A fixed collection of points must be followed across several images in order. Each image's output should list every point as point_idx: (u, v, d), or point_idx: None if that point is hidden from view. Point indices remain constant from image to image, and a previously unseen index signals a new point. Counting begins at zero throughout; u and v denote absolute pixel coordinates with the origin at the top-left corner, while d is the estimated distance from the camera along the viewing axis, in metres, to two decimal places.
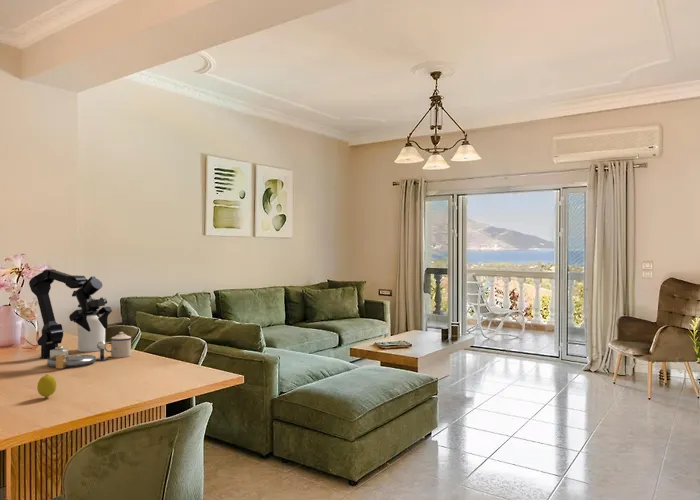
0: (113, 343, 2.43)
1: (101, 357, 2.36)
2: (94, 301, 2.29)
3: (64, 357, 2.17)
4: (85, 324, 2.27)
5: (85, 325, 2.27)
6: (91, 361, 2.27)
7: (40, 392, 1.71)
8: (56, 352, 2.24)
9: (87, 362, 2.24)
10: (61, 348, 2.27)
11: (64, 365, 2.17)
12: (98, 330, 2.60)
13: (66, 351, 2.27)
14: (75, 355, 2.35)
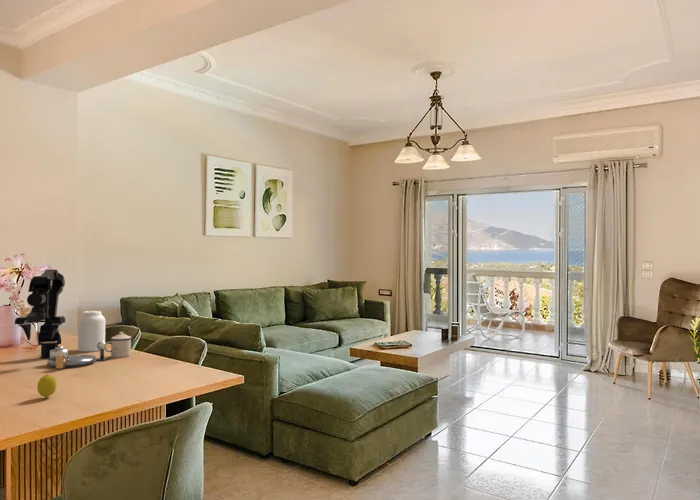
0: (113, 343, 2.43)
1: (101, 357, 2.36)
2: None
3: (64, 357, 2.17)
4: None
5: None
6: (91, 361, 2.27)
7: (40, 392, 1.71)
8: (56, 352, 2.24)
9: (87, 362, 2.24)
10: (61, 348, 2.27)
11: (64, 365, 2.17)
12: (98, 330, 2.60)
13: (66, 351, 2.27)
14: (75, 355, 2.35)
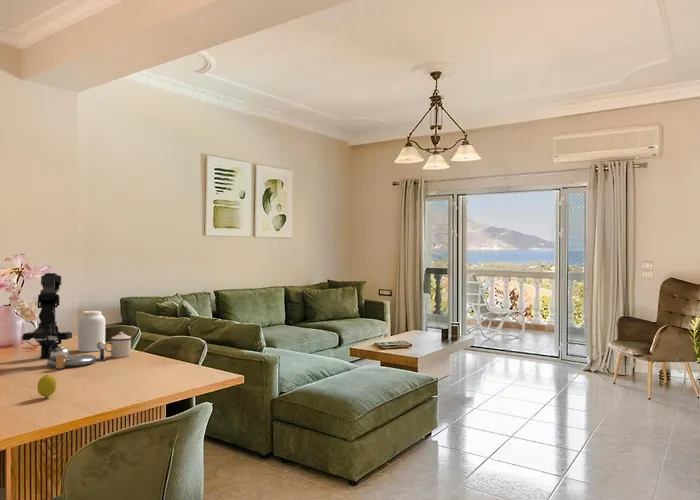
0: (113, 343, 2.43)
1: (101, 357, 2.36)
2: None
3: (64, 357, 2.17)
4: None
5: None
6: (91, 361, 2.27)
7: (40, 392, 1.71)
8: (56, 352, 2.24)
9: (87, 362, 2.24)
10: (61, 348, 2.27)
11: (64, 365, 2.17)
12: (98, 330, 2.60)
13: (66, 351, 2.27)
14: (75, 355, 2.35)
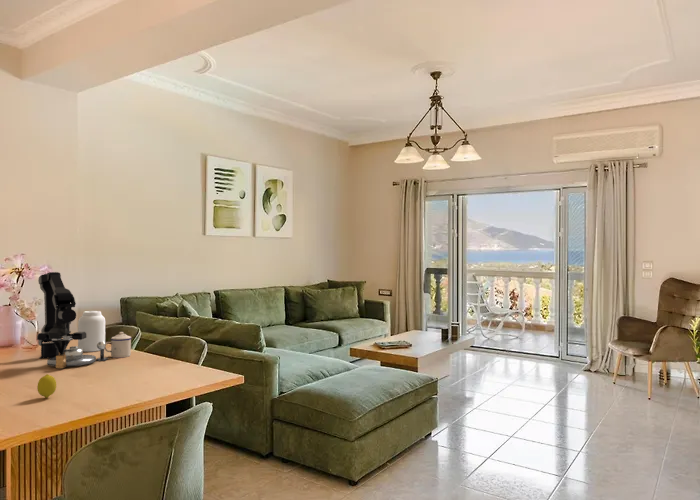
0: (113, 343, 2.43)
1: (101, 357, 2.36)
2: None
3: (64, 357, 2.17)
4: None
5: None
6: (91, 361, 2.27)
7: (40, 392, 1.71)
8: (71, 352, 2.25)
9: (87, 362, 2.24)
10: (75, 348, 2.27)
11: (64, 365, 2.17)
12: (98, 330, 2.60)
13: (80, 351, 2.28)
14: None
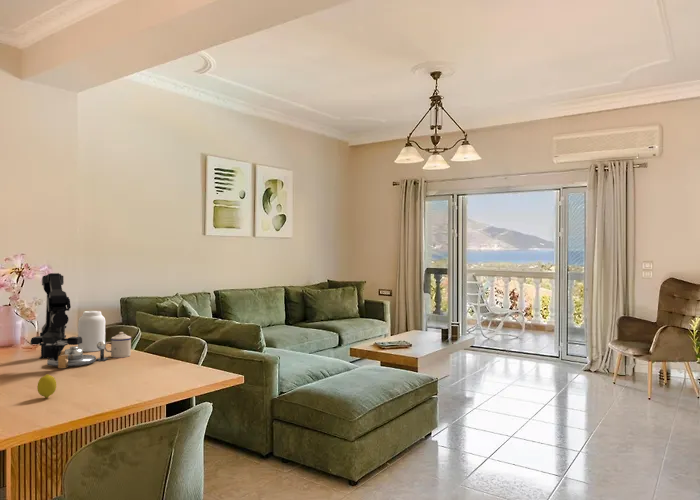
0: (113, 343, 2.43)
1: (101, 357, 2.36)
2: None
3: (66, 357, 2.17)
4: None
5: None
6: (92, 361, 2.27)
7: (40, 392, 1.71)
8: (71, 352, 2.25)
9: (88, 362, 2.25)
10: (76, 348, 2.28)
11: (66, 365, 2.18)
12: (98, 330, 2.60)
13: (81, 351, 2.28)
14: None
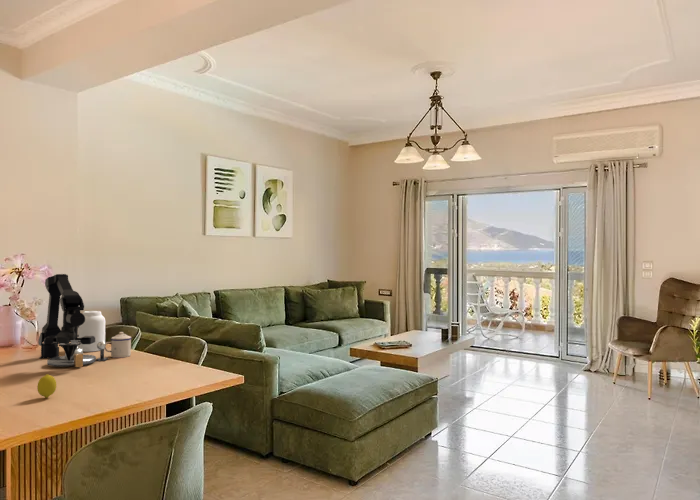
0: (113, 343, 2.43)
1: (101, 357, 2.36)
2: None
3: None
4: None
5: None
6: (95, 359, 2.32)
7: (40, 392, 1.71)
8: (76, 351, 2.26)
9: (95, 359, 2.30)
10: (77, 347, 2.29)
11: None
12: (98, 330, 2.60)
13: (82, 350, 2.30)
14: (64, 356, 2.33)
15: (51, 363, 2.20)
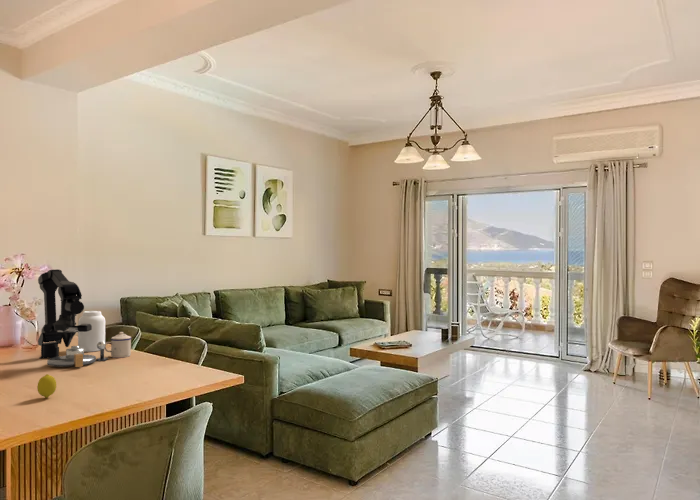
0: (113, 343, 2.43)
1: (101, 357, 2.36)
2: None
3: None
4: None
5: None
6: (95, 359, 2.32)
7: (40, 392, 1.71)
8: (77, 351, 2.27)
9: (95, 359, 2.30)
10: (78, 347, 2.30)
11: None
12: (98, 330, 2.60)
13: (83, 350, 2.31)
14: (64, 356, 2.33)
15: (51, 363, 2.20)
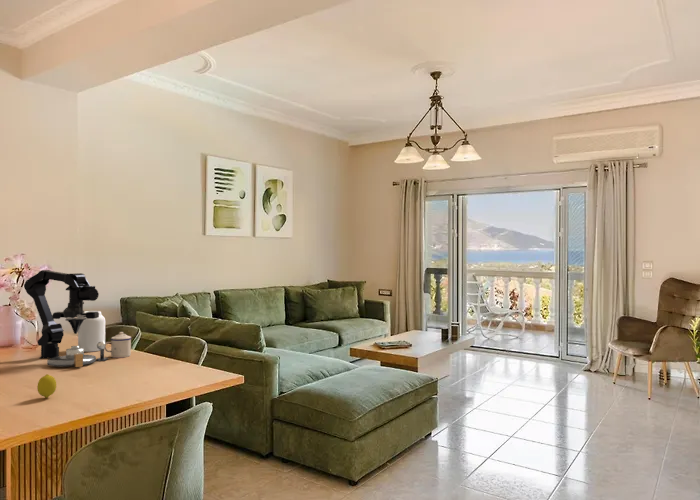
0: (113, 343, 2.43)
1: (101, 357, 2.36)
2: None
3: None
4: None
5: None
6: (95, 359, 2.32)
7: (40, 392, 1.71)
8: (77, 351, 2.27)
9: (95, 359, 2.30)
10: (78, 347, 2.30)
11: None
12: (98, 330, 2.60)
13: (83, 350, 2.31)
14: (64, 356, 2.33)
15: (51, 363, 2.20)
